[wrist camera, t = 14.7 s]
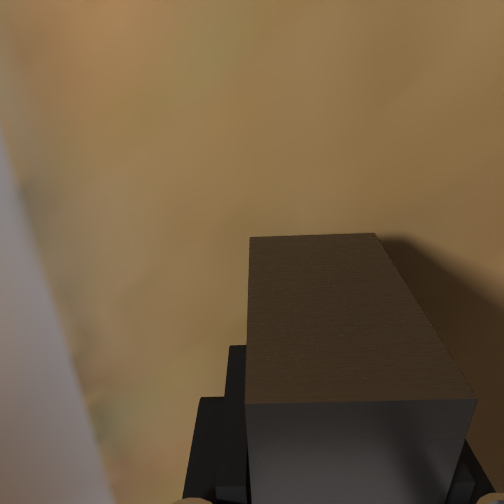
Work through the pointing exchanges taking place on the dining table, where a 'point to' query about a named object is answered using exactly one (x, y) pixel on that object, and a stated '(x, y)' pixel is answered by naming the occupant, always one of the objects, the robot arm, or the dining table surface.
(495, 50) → the dining table surface
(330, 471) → the two-tone stacked blocks
